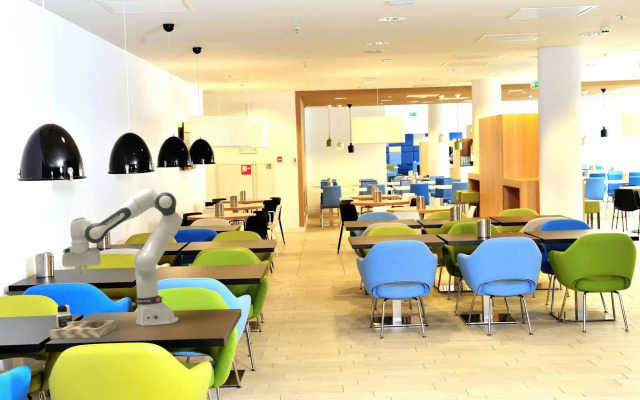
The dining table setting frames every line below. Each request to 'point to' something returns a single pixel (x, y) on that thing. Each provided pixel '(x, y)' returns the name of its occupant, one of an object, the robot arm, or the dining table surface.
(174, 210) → the robot arm
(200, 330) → the dining table surface
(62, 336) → the woven tray
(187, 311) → the dining table surface
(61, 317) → the medicine bottle
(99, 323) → the walnut block
